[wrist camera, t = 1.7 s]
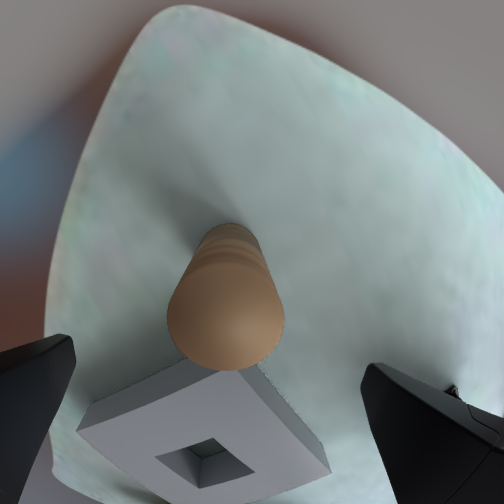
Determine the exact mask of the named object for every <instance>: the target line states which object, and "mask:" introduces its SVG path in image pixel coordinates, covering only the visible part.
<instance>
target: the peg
mask: <svg viewBox="0 0 504 504" xmlns="http://www.w3.org/2000/svg"><path fill="white" fill-rule="evenodd" d="M167 325H168V329H169V332H170V335H171V338H172V340H173V341H174V343H175V345H176V346H177V347H178V349H179V350H180V351H181V352H182V353H183V354H184V355H185V356H186V357H187V358H189V359H190V360H192V361H193V362H195V363H197V364H199V365H201V366H203V367H206V368H209V369H213V370H220V371H234V370H240V369H244V368H247V367H250V366H253V365H255V364H257V363H258V362H260V361H262V360H263V359H264V358H266V357H267V356H268V355H269V354H270V353H271V352H272V351H273V350H274V348H275V347H276V346H277V344H278V342H279V340H280V338H281V336H282V333H283V328H284V311H283V306H282V304H281V301H280V298H279V296H278V293H277V290H276V288H275V285H274V283H273V280H272V277H271V275H270V272H269V270H268V267H267V265H266V262H265V259H264V257H263V254H262V252H261V249H260V247H259V244H258V241H257V240H256V238H255V236H254V235H253V234H252V233H251V232H250V231H249V230H248V229H246V228H244V227H242V226H240V225H236V224H223V225H219V226H217V227H215V228H213V229H212V230H210V231H209V232H208V233H207V234H206V235H205V236H204V238H203V240H202V241H201V243H200V245H199V247H198V249H197V251H196V252H195V254H194V256H193V258H192V260H191V261H190V263H189V265H188V267H187V269H186V271H185V273H184V274H183V276H182V278H181V280H180V282H179V284H178V286H177V287H176V289H175V291H174V293H173V295H172V297H171V299H170V302H169V305H168V310H167Z"/></svg>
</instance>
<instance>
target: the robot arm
mask: <svg viewBox="0 0 504 504" xmlns="http://www.w3.org/2000/svg"><path fill="white" fill-rule="evenodd" d="M75 366H76V356H75V350H74V345H73V340H72V338H71V337H70V336H69V335H64V334H56V335H53V336H50V337H47V338H43V339H40V340H37V341H34V342H31V343H28V344H25V345H22V346H18V347H15V348H12V349H9V350H6V351H2V352H0V504H18V502H19V499H20V496H21V494H22V491H23V488H24V486H25V483H26V481H27V478H28V475H29V473H30V470H31V468H32V466H33V463H34V461H35V458H36V456H37V454H38V452H39V449H40V447H41V445H42V442H43V440H44V438H45V436H46V434H47V432H48V429H49V427H50V425H51V423H52V421H53V419H54V417H55V415H56V413H57V411H58V409H59V407H60V404H61V402H62V400H63V397H64V395H65V392H66V389H67V386H68V384H69V381H70V379H71V376H72V373H73V371H74V368H75ZM360 389H361V394H362V398H363V402H364V406H365V410H366V413H367V417H368V421H369V425H370V428H371V431H372V434H373V437H374V439H375V442H376V445H377V447H378V450H379V453H380V456H381V458H382V461H383V464H384V466H385V469H386V472H387V475H388V477H389V480H390V483H391V486H392V489H393V492H394V495H395V497H396V500H397V503H398V504H504V418H502V417H499V416H496V415H493V414H491V413H488V412H486V411H483V410H481V409H479V408H476V407H474V406H472V405H470V404H466V403H465V402H463V401H462V399H461V398H460V397H459V395H458V388H457V387H456V386H455V385H454V386H452V387H451V388H450V389H448V390H447V391H446V392H445V393H444V392H441V391H439V390H437V389H435V388H433V387H431V386H429V385H427V384H425V383H422V382H420V381H418V380H416V379H414V378H412V377H410V376H408V375H406V374H404V373H402V372H400V371H398V370H396V369H394V368H392V367H390V366H388V365H386V364H384V363H381V362H377V363H370V364H369V365H368V366H367V368H366V371H365V374H364V377H363V380H362V382H361V387H360Z"/></svg>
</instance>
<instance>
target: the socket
mask: <svg viewBox="0 0 504 504" xmlns="http://www.w3.org/2000/svg"><path fill="white" fill-rule="evenodd" d="M76 432H77V433H78V434H79V435H80V436H81V437H82V438H83V439H84V440H85V441H86V442H87V443H89V444H90V445H91V446H92V447H93V448H94V449H95V450H97V451H98V452H99V453H100V454H101V455H103V456H104V457H105V458H106V459H108V460H109V461H110V462H111V463H113V464H114V465H115V466H116V467H118V468H119V469H120V470H122V471H123V472H124V473H126V474H127V475H128V476H130V477H131V478H133V479H134V480H135V481H137V482H138V483H140V484H141V485H143V486H144V487H146V488H147V489H149V490H150V491H152V492H153V493H155V494H156V495H158V496H159V497H161V498H163V499H164V500H166V501H168V502H169V503H171V504H247V503H250V502H254V501H257V500H261V499H264V498H267V497H270V496H273V495H277V494H280V493H282V492H285V491H288V490H291V489H294V488H296V487H299V486H302V485H304V484H307V483H309V482H312V481H314V480H317V479H319V478H321V477H324V476H326V475H328V474H330V473H332V472H331V469H330V466H329V463H328V460H327V457H326V454H325V451H324V448H323V445H322V443H321V442H320V441H319V440H318V439H317V438H316V436H315V435H314V434H313V433H312V432H311V431H310V430H309V428H308V427H307V426H306V425H305V424H304V423H303V421H302V420H301V419H300V418H299V417H298V416H297V414H296V413H295V412H294V411H293V410H292V408H291V407H290V406H289V405H288V404H287V402H286V401H285V400H284V399H283V398H282V396H281V395H280V394H279V393H278V391H277V390H276V389H275V388H274V387H273V385H272V384H271V383H270V382H269V380H268V379H267V378H266V377H265V375H264V374H263V373H262V372H261V370H260V369H259V368H258V366H257V365H256V364H255V365H253V366H250V367H247V368H244V369H240V370H234V371H220V370H213V369H209V368H206V367H203V366H201V365H199V364H197V363H195V362H193V361H192V360H190V359H189V358H186V359H184V360H182V361H180V362H178V363H176V364H174V365H172V366H170V367H168V368H166V369H164V370H162V371H160V372H158V373H156V374H154V375H152V376H150V377H148V378H146V379H144V380H142V381H140V382H138V383H136V384H133V385H131V386H129V387H127V388H125V389H123V390H121V391H119V392H116V393H114V394H112V395H110V396H108V397H105V398H103V399H101V400H99V401H97V402H94V403H92V404H90V406H89V408H88V410H87V411H86V413H85V415H84V417H83V419H82V421H81V422H80V424H79V426H78V428H77V430H76ZM211 438H214V439H215V440H216V441H218V442H219V443H220V444H221V445H222V446H223V447H225V448H226V449H227V451H224V452H221V453H218V454H215V455H212V456H209V457H206V458H203V459H201V458H200V457H198V456H197V455H196V454H195V453H193V452H192V451H191V450H190V449H189V448H187V447H188V446H191V445H194V444H197V443H200V442H202V441H205V440H208V439H211Z"/></svg>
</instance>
